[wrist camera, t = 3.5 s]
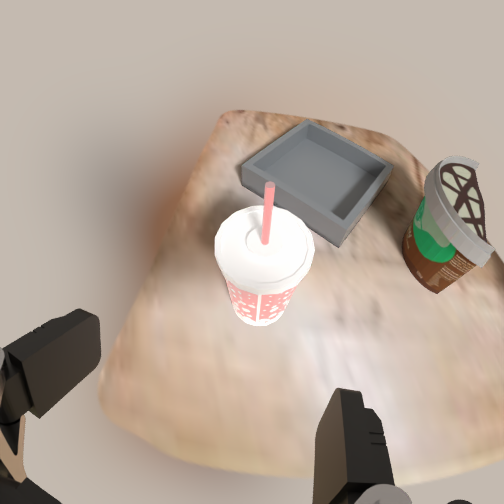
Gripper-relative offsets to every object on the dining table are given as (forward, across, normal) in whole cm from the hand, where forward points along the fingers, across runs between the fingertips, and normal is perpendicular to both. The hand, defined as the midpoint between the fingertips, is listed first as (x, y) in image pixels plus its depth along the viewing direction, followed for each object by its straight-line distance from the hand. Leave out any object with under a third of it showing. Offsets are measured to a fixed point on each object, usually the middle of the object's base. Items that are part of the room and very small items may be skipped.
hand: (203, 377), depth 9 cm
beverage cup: (+17, 0, +4) cm, 17 cm away
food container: (+24, -15, -3) cm, 28 cm away
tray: (+28, -3, -7) cm, 29 cm away
